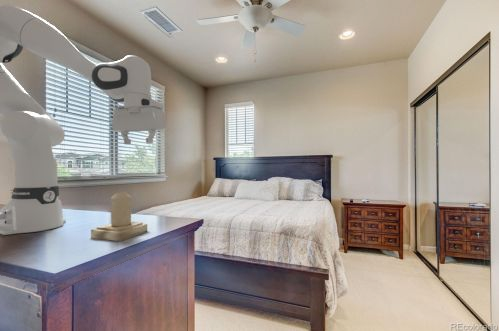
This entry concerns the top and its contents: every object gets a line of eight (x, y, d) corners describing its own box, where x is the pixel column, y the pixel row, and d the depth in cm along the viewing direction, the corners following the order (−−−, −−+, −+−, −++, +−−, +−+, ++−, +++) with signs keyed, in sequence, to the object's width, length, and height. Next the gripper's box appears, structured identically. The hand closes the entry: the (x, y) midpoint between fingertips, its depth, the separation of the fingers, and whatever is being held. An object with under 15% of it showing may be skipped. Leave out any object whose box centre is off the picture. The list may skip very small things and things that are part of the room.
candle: (118, 222, 81) (118, 191, 81) (134, 222, 80) (134, 191, 80) (107, 226, 75) (106, 193, 75) (124, 226, 75) (124, 193, 75)
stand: (91, 237, 74) (90, 227, 74) (120, 228, 84) (120, 219, 84) (120, 241, 71) (120, 230, 71) (147, 231, 81) (147, 222, 81)
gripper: (107, 104, 88) (107, 143, 88) (156, 99, 81) (156, 142, 81) (121, 108, 94) (121, 145, 94) (167, 104, 87) (168, 143, 87)
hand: (138, 143), depth 87 cm, fingers open, 8 cm apart
